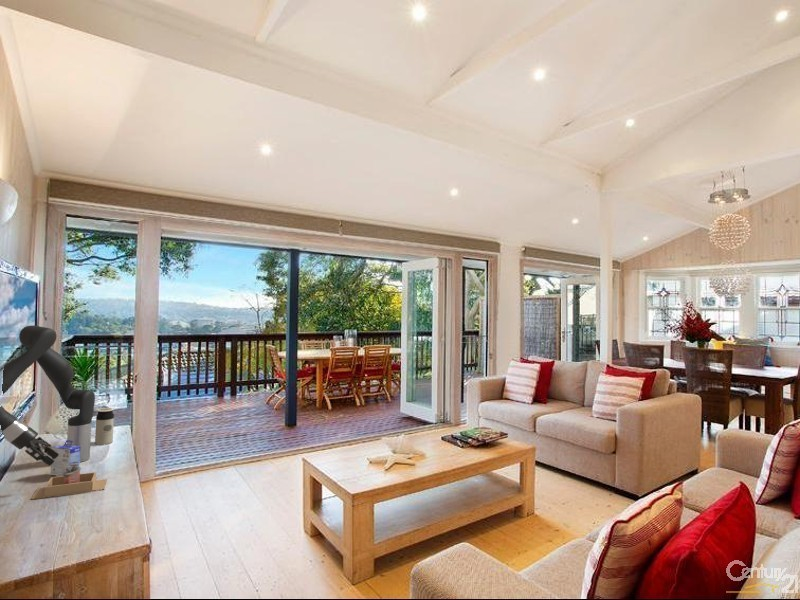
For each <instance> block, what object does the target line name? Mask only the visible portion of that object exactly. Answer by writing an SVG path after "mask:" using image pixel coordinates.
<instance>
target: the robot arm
mask: <svg viewBox="0 0 800 600" xmlns="http://www.w3.org/2000/svg"><path fill="white" fill-rule="evenodd" d="M57 336H58V335H57V332H56V331H55V330H54V329H52V328H50V327H46V326H45V327H44V326H39V325H27V326H25V327H24V326H23V328H22V329H21V330H20V331H19V335H18V338H19V341H20V344H21V345H22V346H23V347H24V348H25V349H26V351H24V352H23V353H22V354H20V355H19V356H18V357H16V358H14V359H12V360H11V361H9V362H6V363H5V364H4V365H3V366H4V370H3V384H2V391H3V395H5V393H7V392H8V391H9V390H10V388H11V387H12V386H13V385H14V384H15V382H16V381H17V380H18V378H20V376H21V375H22V374H23V373H24V372H25V371H26V370H27V369H29V367H30V366H33V364H34V363H35V362H37V364H38V365H39V366H40V368H41V369H42V371H43V372H44V374H45V375H46V376H47V378H48V379H49V381H50V382H51V383H52V385H53V387H55V389H56V391H57V392H58V394H59V396H60V398H61V400H62V402H63V404H64V406H65V407H66V409H69V410H79V412H78V414H77V415H75V416H72V417H70V418H68V419H67V435H66V437H67V438H66V440H71V441H73V443H72V446H81V448H80V463H82V462H86V461H88V460H89V459H90V457H91V456H90V455H91V454H90V453H91V440H92V439H91V438H92V420H93V416H94V411H95V410H94V409H95V401H96V396H95V392H94V391H93V390H90V389H76V388H75V387H74V386H73V384H72V381H73V379H74V375H75V372H74V368H73V367H72V366H71V364H70V362H69V361H68V360H67V359H66V358H65V357H64V356H63V355H61V354H60V353H58V352H57V351H56V350H55V349H53V348H52V346H53V345H54V344H55V343H56V341H57ZM0 425H1V430H2V433H3V435H4V437H5V438H3V439H4V440H6V441H7V443H10V444H11V445H12V446H14V448H15V447H16V448H17V449H18V450H22V449H23V448H26V449H25V450H24V452H25V453H26V454H27V455H29V456H30V457H32V459H34V460H35V461H37V462H38V461H42V463H45V464H46V465H47V466H50V467H51V464H52V463H54V460H53V459H55V458H56V457H58V456H59V454H58V453H57V452H55V451H54V450H53V449H52V448H53V447H52V444H50V443H49V442H47V441H46V440H45V439H44V438H42V437H40V436H38V435H39V433H38V432H37V431H36V430H34V429H33V428H32V427H30V426H29V425H28V424H26V423H25V422H23V421H22V420H20V419H18V418H17V417H16V416H14V415H13V414H12V413H10V412H9V411H7V410H6V409H5V408H4V406H3V405H1V407H0ZM37 436H38V437H37ZM66 444H71V443H70V442H67V443H66ZM52 458H53V459H52Z"/></svg>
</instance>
